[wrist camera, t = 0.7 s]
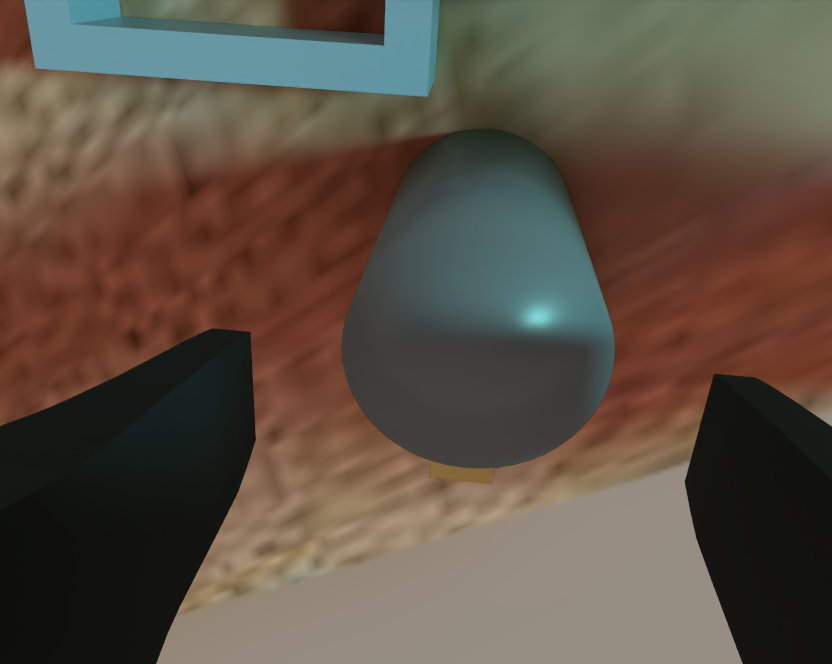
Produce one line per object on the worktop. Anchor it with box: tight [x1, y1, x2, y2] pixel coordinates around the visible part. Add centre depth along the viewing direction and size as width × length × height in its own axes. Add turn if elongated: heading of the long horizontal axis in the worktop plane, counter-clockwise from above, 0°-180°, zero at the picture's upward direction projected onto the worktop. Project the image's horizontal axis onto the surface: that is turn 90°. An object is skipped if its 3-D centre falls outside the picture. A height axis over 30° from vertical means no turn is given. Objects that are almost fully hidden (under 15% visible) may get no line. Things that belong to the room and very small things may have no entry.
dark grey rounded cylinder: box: [342, 129, 615, 484], centre depth 17 cm, size 5×6×8 cm
